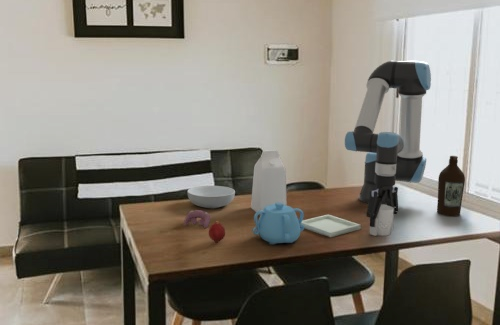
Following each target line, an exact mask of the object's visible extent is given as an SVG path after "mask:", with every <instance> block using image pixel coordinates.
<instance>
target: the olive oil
mask: <svg viewBox="0 0 500 325" xmlns="http://www.w3.org/2000/svg"><path fill="white" fill-rule="evenodd" d="M458 160H459V159H458V156H457V155H450V156H449V160H448V165H447V166H446V167H444V168H443V169H442V170H441V171H440V173H439V175H438V183H437V184H438V185H437V191H438V192H437V207H436V208H437V209H436V211H437V214H439V215H442V216H447V217H457V216H458V217H459V216H461V211H462V203H463V197H464V196H463V194H464V189H465V184H466V183H465V182H466V176H465V173H464V172H463V171H462V170H461V168H460V167H459V165H458Z"/></svg>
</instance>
